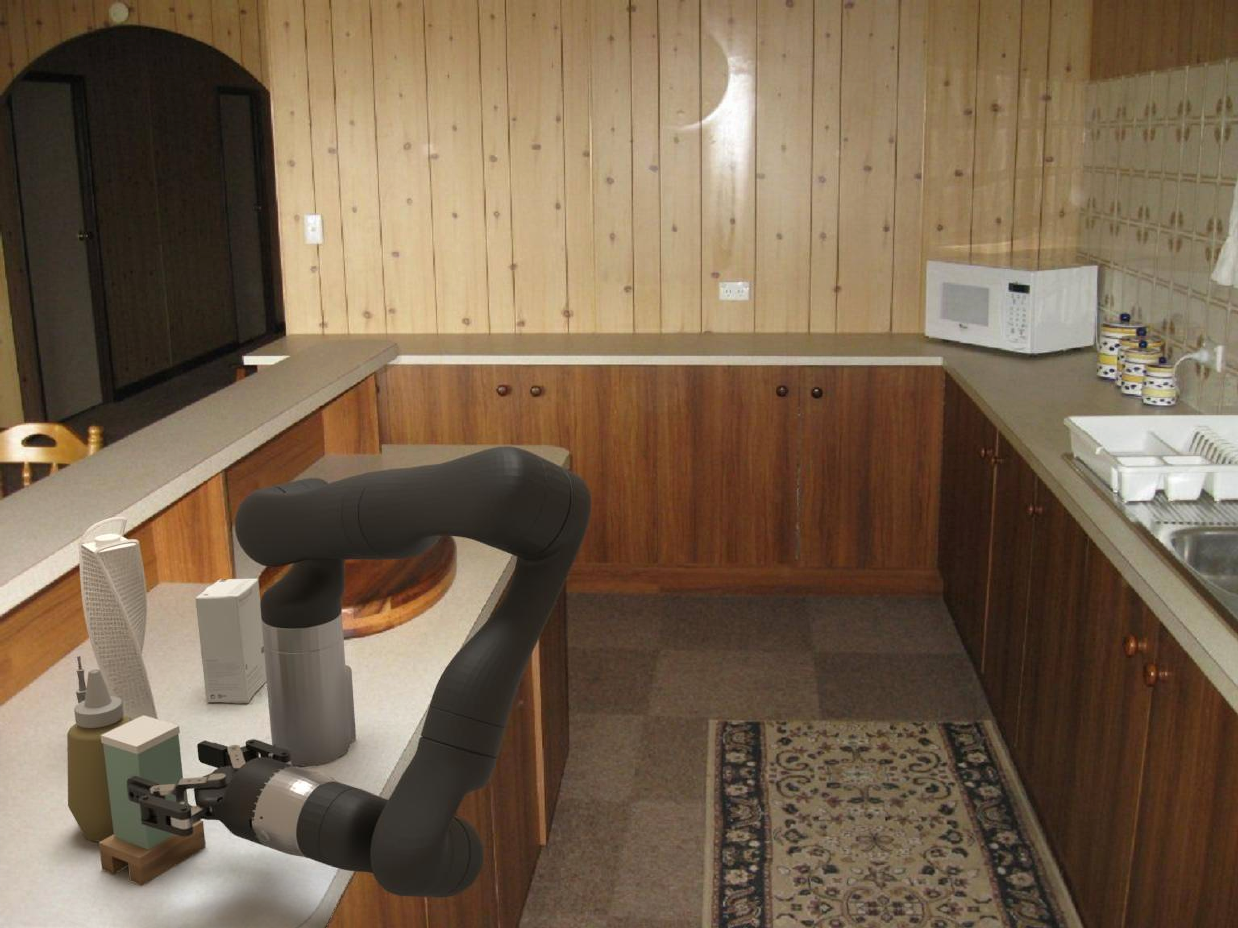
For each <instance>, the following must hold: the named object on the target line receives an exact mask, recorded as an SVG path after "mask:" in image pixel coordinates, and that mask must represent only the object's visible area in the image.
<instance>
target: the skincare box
mask: <svg viewBox="0 0 1238 928" xmlns="http://www.w3.org/2000/svg"><path fill="white" fill-rule="evenodd" d="M260 593H261V592H260V583H259V578H230V579H229V578H225V579H218V580H217V581H215V582H214V583H213V584H212V585H209V586H207V587H206V588H205V589H204V591H203V592H201V593H200V594H199V595H198V596H196V597H195V598H194V599H195V606H196V615H197V616H196V617H197V623H198V624H197V626H198V633H199V634H198V635H199V643H200V654H201V663H202V670H203V680H204V681H203V682H204V689H205V698H206V702H207V703H227V704H228V703H229V704H249V702H250V701H251V699H252V698H253V696H254V695H255V694H256V693H257V692H258V691H259V690H260V689H261V688H262V687H263V686H264V685H265V684H267V679H266V667H265V655H264V643H263V633H262V621H261V609H260V602H261V595H260Z"/></svg>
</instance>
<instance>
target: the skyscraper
mask: <svg viewBox="0 0 1238 928" xmlns="http://www.w3.org/2000/svg"><path fill="white" fill-rule="evenodd" d="M116 521H121V527H120V530H119V533H107V534H101V535H98V536H96V537H94V540H93V541H89V542H85V540H86V539H87V537H88V535H90V533H91V532H92V531H93V530H95V529H96V528H98V527H100V526H102V525H105V524H108V523H110V522H111V523H112V522H116ZM127 523H128V518H127V517H126V516H113V517H109V518H106V519H102V520H99V521H98V522H96V523H94V524H92V525H91V526H90V527H88V528H87V530H86V531H85V532H83V535H82V536H81V538H80V540H79V542H78V560H79V561H78V562H79V580H80V591H81V600H82V601H81V602H82V610H83V615H84V621H85V625H86V629H87V630H86V631H87V634H88V638H89V642H90V645H91V648H92V651H93V655H94V657H95V660H96V663H97V665H98V670H100V671H101V674H102V676H103V679H104V682H105V684H106V687H107V690H108V692H109V695H110V696H115V697H118V698H120V699H121V700H122V704H123V712H124V714H123V715H126V716H128V717H130V718H131V719H132V720H134V719H136V718H139V717H141V716H143V715H144V716H148V717H151V718H155V719H158V720H159V717H158V713H157V710H156V709H157V708H156V705H155V699H154V696H153V691H152V686H151V684H150V680H149V676H148V675H149V674H148V672H147V668H146V665H145V662H144V657H143V650H144V644H145V636H146V630H147V629H146V628H147V618H148V617H147V616H148V614H147V613H148V596H147V583H146V575H145V574H146V573H145V570H144V569H145V568H144V563H143V557H142V552H141V546H140V541H139V539H135V538H134V539H133V538H132V539H131V538H130V539H128V538H126V537H124V534H125V529H126V527H127ZM76 659H77V663H78V665H77V666H78V669H76V674H77V680H78V689H77V690H76V691H75V694H76V698H77V704H79V703H80V702H82V701H84V700H85V696H86V687H87V683H86V681H85V680H86V679H85V669H84V668H83V667H82V661H81V655H76Z"/></svg>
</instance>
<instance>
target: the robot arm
mask: <svg viewBox="0 0 1238 928" xmlns="http://www.w3.org/2000/svg"><path fill="white" fill-rule="evenodd" d="M591 511H592V496H591V491H590V489H589V487H588V484H587V483H586V482H585V480H584V479H583V478H582V477H581V476H580V475H577V473H574V472H572V471H571V470H568V469H567V468H566V467H565V468H564V467H563V466H561V465H559V464H556V463H554V462H552V461H550V460H548V459H546V458H544V457H541V456H539V455H537V454H535V453H533V452H531V451H529V450H525V449H524V448H520V447H516V446H507V445H506V446H496V447H492V448H488V449H483V450H480V451H477V452H474V453H471V454H467V455H465V456H461V457H458V458H455V459H452V460H448V461H446V462H445V461H444V462H441V463H435V464H426V465H425V464H424V465H418V466H413V467H412V466H411V467H403V468H400V467H398V468H390V469H383V470H376V471H369V472H366V473H361V474H357V475H353V476H350V477H345V478H343V479H337V480H336V481H335V480H334V481H332V482H328V481H326V480H324V479H323V478H322V479H321V478H318V477H309V478H303V479H298V480H293V481H289V482H284V483H280V484H276V485H275V484H274V485H270V486H264V487H262V488H260V489H256V490H254V491H252V492H250V493H249V494H248V495H247V496H245V498H244V499H243V500H242V501H241V503H239V506H238V508H237V511H236V514H235V517H234V518H235V519H234V532H235V536H236V540H237V542H238V544H239V546H240V548H241V549H242V550H243V552H244V553H245V554H246V555H247V556H248V557H249V558H250V559H251V560H252V561H254V562H255V563H257V564H259V565H261V566H264V567H268V568H277V567H278V568H280V567H283V566H287V565H291V567H290V568H289V570H288V571H287V572H286V573H285V574H284V575H282V577H281V578H279V580H278V581H276V582H275V583H274V584H272V585H271V586H270V587H268V588H267V589H266V590H265V591H264V592H263V594H262V596H261V597H260V609H261V621H262V633H263V643H264V655H265V667H266V679H267V682H266V688H267V690H266V691H267V701H268V712H269V727H270V735H271V744H270V743H267V742H264V741H262V740H258V739H255V738H252V739H248V740H246V741H245V745H243V746H240V745H238V744H233V745H231V744H230V745H229V746H227V745H225V744H224V745H223V744H221V743H217V742H212V741H208V740H202V741H200V742H198V743H197V745H196V747H197V756H198V760H199V762H200V763H201V764H202V765H203V764H204V765H207V766H210V767H213V768H216V769H214V770H213V771H212V772H211V773H209V774H206V775H203V776H199V777H197V776H196V777H185V778H184V777H183V779H180V780H178V782H177V783H176V784H167V785H159V784H158V783H155V782H153V781H150V780H147V779H144V778H141V777H138V776H133V777H131V778H129V779H128V780H127V792H128V799H129V800H130V801H132V802H135V803H138V804H139V805H140V811H141V823H142V824H143V825H146V826H149V827H153V828H156V829H159V830H162V831H166V832H169V833H172V834H176V835H179V836H183V837H185V836H189V835H191V834H193V824H195V823H196V822H198V821H200V820H201V821H202V820H207V821H219V822H220V823H221V824H223V826H225V828H226V829H227V830H228V831H229V832H230V833H231V834H232V835H233V836H236V837H238V838H241V839H244V840H247V841H249V842H252V843H255V844H257V845H259V846H260V845H261V846H263V847H266V848H270V849H272V850H275V851H278V852H281V853H283V854H286V855H290V856H295V857H299V858H306V859H310V860H312V861H315V862H319V863H321V864H324V865H326V866H330V867H333V868H335V869H340V870H343V871H350V872H363V873H369V874H373V876H374V879H375V880H376V882H377V884H378V885H379V886H380V887H381V888H382V889H383V890H385V891H386V892H388V893H390V894H392V895H396V896H399V897H413V898H415V897H416V898H418V897H419V898H439V899H441V898H443V899H444V898H449V897H453V896H456V895H459V894H461V893H463V892H464V891H466V890H467V889H468V888H470V887H471V886H472V885H473V884H474V882H476V881H477V879H478V878H479V875H480V874H481V872H482V869H483V866H484V860H485V850H484V849H485V848H484V845H483V842H482V839H481V836H480V834H479V833H478V831H477V830H476V828H475V827H474V826H473V825H472V824H471V823H470V822H469V821H467V820H466V819H465V818H462V817H460V816H459V815H456V814H457V813H458V810H459V808H460V806H461V803H462V802H463V800H464V798H465V797H466V796H467V795H468V794H470V793H472V792H475V791H478V790H481V789H482V788H484V787H485V786H487V784H489V782H490V781H491V778H492V775H493V773H494V770H495V767H496V763H497V760H498V758H497V757H499V753H500V749H501V746H502V742H503V739H504V736H505V733H506V731H507V725H508V722H509V719H510V718H509V717H510V714H511V711H512V708H513V705H514V702H515V698H516V696H517V692H518V690H519V686H520V684H521V681H522V678H523V676H524V673H525V671H526V669H527V667H528V666H527V665H528V664H529V661H530V658H531V656H532V654H533V652H534V650H535V648H536V645H537V644H538V641H539V640H540V637H541V635H542V633H543V630H544V629H545V626H546V624H547V623H548V620H549V618H550V616H551V614H552V612H553V610H554V607H555V605H556V603H557V600H558V598H559V596H560V594H561V591H562V589H563V587H564V584H565V582H566V580H567V579H568V576H569V575H570V571H571V570H572V567H573V565H574V563H575V561H576V558H577V556H578V554H579V551H580V550H581V547H582V544H583V541H584V539H585V536H586V533H587V531H588V527H589V525H590V523H589V522H590V519H591V514H592V513H591ZM442 537H457V538H465V539H470V540H473V541H476V542H479V543H481V544H483V545H486V546H489V547H491V548H494V549H497V550H499V551H502V552H504V553H507V554H510V555H513V556H515V557H516V562H515V565H514V569H513V573H512V577H511V580H510V584H509V586H508V588H507V590H506V592H505V594H504V597H503V598H502V600H501V602H500V603H499V605H497V608H496V609H495V610H494V611H493V613H492V614H491V616H490V617H489V618H488V619H487V620H486V622H484V624H483V625H482V626H481V627H480V628H479V629H478V630H477V632H475V634H474V635H472V637H471V638H469V640H468V641H467V642H466V643H464V645H463V646H462V647H461V648H460V649H459V650H458V652H457V653H456V654H455V655H454V656H453V657H452V658H451V660H450V661H449V662H448V664H447V665H446V666H445V669H444V670H443V672H442V674H441V675H440V678H439V679H438V681H437V683H436V685H435V688H434V690H433V691H434V692H433V694H432V697H431V700H430V703H429V707H428V710H427V713H426V716H425V719H424V722H423V726H422V729H421V733H420V737H419V740H418V742H417V747H416V751H415V753H414V756H413V758H412V759H411V761H410V762H409V763H408V765H407V766H406V769H405V770H403V773H402V775H401V776H400V778H399V781H398V782H397V784H396V786H395V787H394V789H393V791H392V792H391V794H390V796H389V797H388V798H389V799H388V798H385V797H382V796H380V795H377V794H374V793H372V792H370V791H367V790H365V789H362V788H358V787H356V786H352V785H348V784H345V783H341V782H339V781H337V780H334V779H332V778H330V777H328V776H326V775H324V774H322V773H318V772H316V771H314V770H309V769H307V768H303V767H299V766H314V765H320V764H324V763H327V762H328V763H329V762H331V761H334V760H336V759H338V758H340V757H342V756H344V754H346V753H347V752H348V751H349V749H350V748H351V745H352V744H351V743H352V742H353V741H355V740H356V739H357V734H356V733H357V731H356V716H355V701H354V700H355V699H354V688H353V687H354V686H353V674H352V673H353V671H352V668H351V666H350V665H346V655H345V640H344V639H345V638H344V628H343V624H344V623H343V611H342V609H343V608H342V599H343V595H344V591H345V587H346V583H345V582H346V576H345V573H346V572H345V569H346V568H345V567H346V566H345V560H370V561H371V560H375V561H383V560H388V561H389V560H402V559H403V560H405V559H410V558H413V557H417V556H420V555H423V554H425V553H426V552H428V551H430V550H431V549H432V548H433V547H434V546H435V545H436V544H437V543H438V541H439V540H440V539H441V538H442ZM188 790H193V794H194V800H195V801H194V802H195V805H191V804H190V803H189V801H188V792H187V791H188ZM165 795H175V796H176V801H177V803H176V802H173V801H169V800H166V799H165Z"/></svg>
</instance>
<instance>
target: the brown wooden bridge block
mask: <svg viewBox="0 0 1238 928" xmlns="http://www.w3.org/2000/svg"><path fill="white" fill-rule="evenodd" d="M204 827H205V826H204V821H203V820H202V819H201V820H200V821H198V822H196V823H195V824H193V834H191V835H189V836H185V837H183V836H179V835H176V834H175V835H173V836H171V837H170V838H168V839H166V840H164V841H163V842H161V843H159V844H158V845H156V846H154V847H153V848H151V849H149V850H148V849H145V848H142V847H139V846H137V845H134V844H131V843H129V842H126V841H123V840H120V839H118V838H115V837H114V834H113V835H112V836H110V837H108V838H106V839H104V840H102V841H98V848H99V857H100V864H101V870H102V871H105V872H108V873H110V874H113V875H115V874H117V873H118V872H120V871H121V870H124V869H125V868H127V867H128V873H129V881H130V882H133V883H135V884H138V885H140V886H144V885H146V884H147V883H149V882H151V881H153V880H154V879H156V878H157V877H159V876H161V875H162V874H165V873H166V872H168V871H169V870H170V869H172V868H174V867H176V866H178V865H179V864H181V863H182V862H185V860H187V859H189V858H191V857H192V856H194V855H195V854H197V853H199V852H200V851H202V850H204V849H205V848H207V847H206V845H207V844H206V836H205V828H204Z"/></svg>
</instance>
